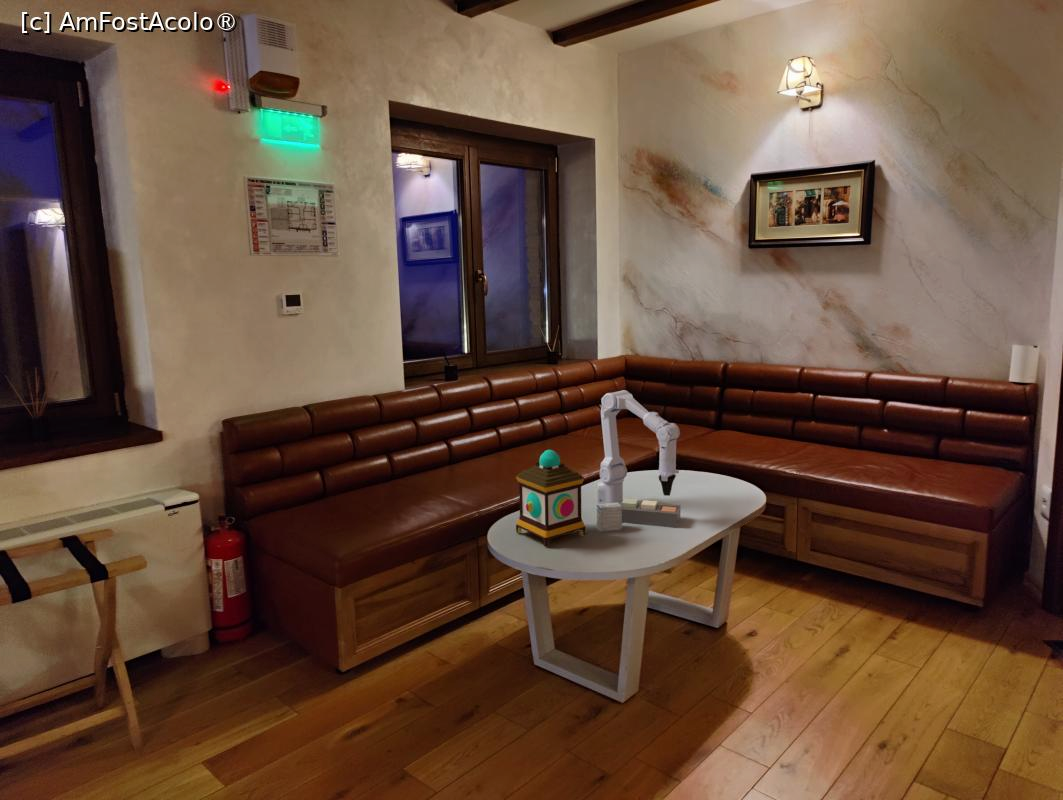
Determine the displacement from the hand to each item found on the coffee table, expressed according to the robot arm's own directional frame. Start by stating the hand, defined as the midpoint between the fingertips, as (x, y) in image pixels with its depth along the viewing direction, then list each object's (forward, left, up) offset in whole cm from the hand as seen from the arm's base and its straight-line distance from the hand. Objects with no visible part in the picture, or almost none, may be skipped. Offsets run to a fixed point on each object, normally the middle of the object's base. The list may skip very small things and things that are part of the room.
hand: (666, 495), depth 262 cm
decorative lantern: (-36, -25, -10) cm, 45 cm away
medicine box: (-18, -14, -10) cm, 25 cm away
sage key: (-13, -2, -6) cm, 14 cm away
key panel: (-6, -2, -9) cm, 11 cm away
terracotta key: (+1, -2, -7) cm, 8 cm away
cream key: (-6, -2, -6) cm, 8 cm away
